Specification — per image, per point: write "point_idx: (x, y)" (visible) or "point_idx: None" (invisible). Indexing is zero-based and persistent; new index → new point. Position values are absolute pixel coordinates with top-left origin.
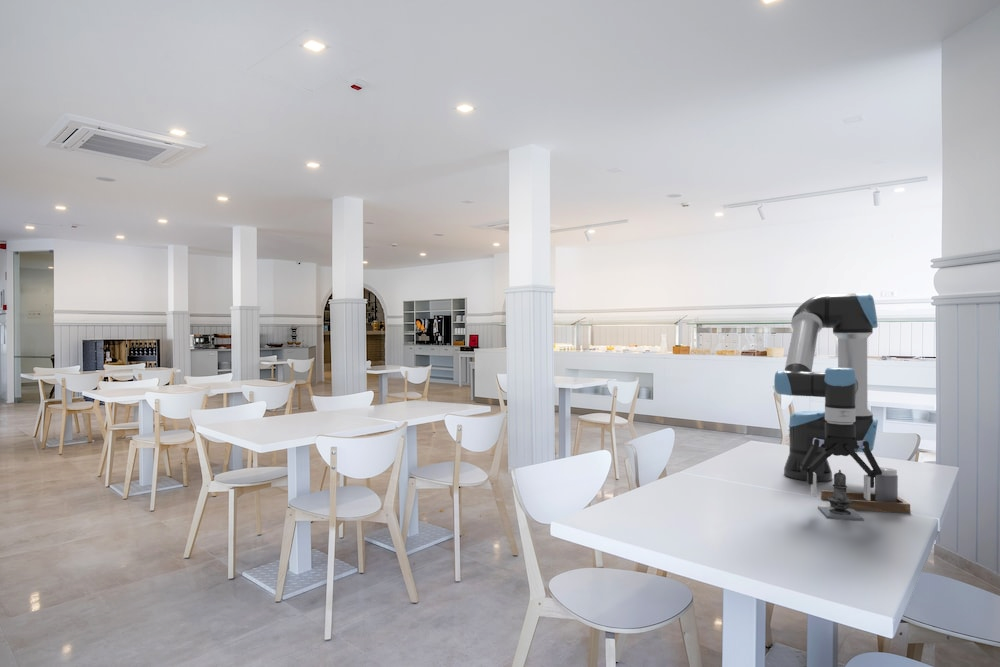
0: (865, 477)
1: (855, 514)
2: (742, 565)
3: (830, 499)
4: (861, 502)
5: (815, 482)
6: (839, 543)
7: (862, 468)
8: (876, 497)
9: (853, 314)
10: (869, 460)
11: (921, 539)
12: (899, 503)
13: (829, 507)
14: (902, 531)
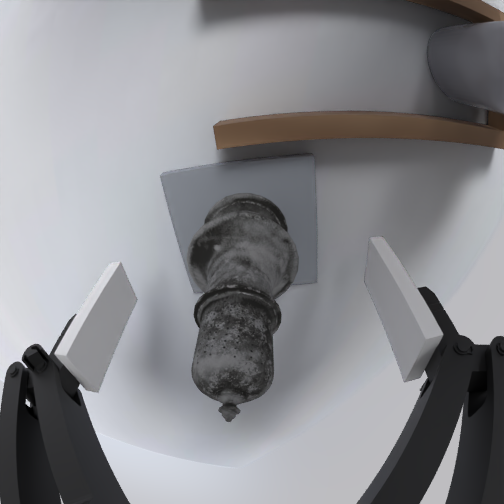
0: (409, 352)
1: (301, 245)
2: (124, 437)
3: (196, 284)
4: (370, 136)
5: (110, 354)
6: (215, 408)
7: (431, 389)
8: (454, 65)
9: None
10: (468, 460)
11: (387, 359)
12: (497, 144)
13: (208, 175)
14: (380, 330)
